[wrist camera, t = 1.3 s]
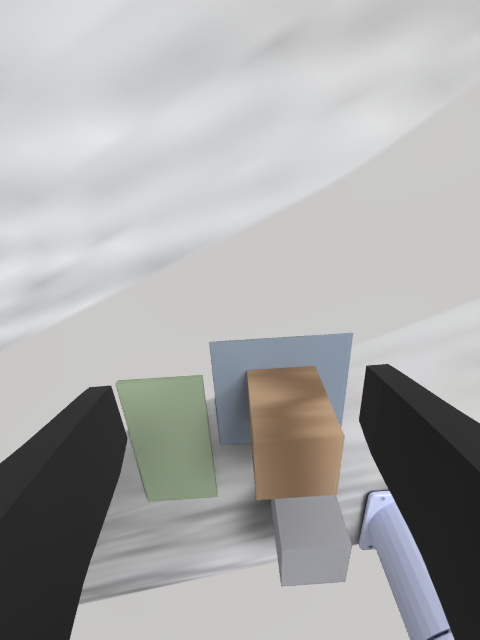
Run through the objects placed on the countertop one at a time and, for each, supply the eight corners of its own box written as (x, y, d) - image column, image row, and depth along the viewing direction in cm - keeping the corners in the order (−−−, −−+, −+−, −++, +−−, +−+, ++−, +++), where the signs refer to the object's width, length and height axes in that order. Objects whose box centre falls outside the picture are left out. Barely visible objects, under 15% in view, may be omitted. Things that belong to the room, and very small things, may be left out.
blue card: (352, 333, 21) (353, 333, 21) (339, 436, 25) (340, 437, 25) (209, 341, 21) (209, 342, 21) (220, 444, 25) (220, 445, 25)
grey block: (326, 465, 26) (351, 544, 21) (322, 501, 29) (345, 581, 23) (270, 469, 26) (281, 550, 21) (270, 504, 28) (281, 586, 23)
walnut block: (315, 365, 22) (344, 436, 16) (311, 417, 24) (336, 494, 18) (246, 370, 22) (253, 442, 16) (249, 421, 24) (256, 500, 18)
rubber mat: (202, 374, 22) (201, 378, 21) (217, 492, 27) (217, 496, 27) (117, 380, 22) (115, 384, 21) (149, 496, 27) (148, 501, 27)
